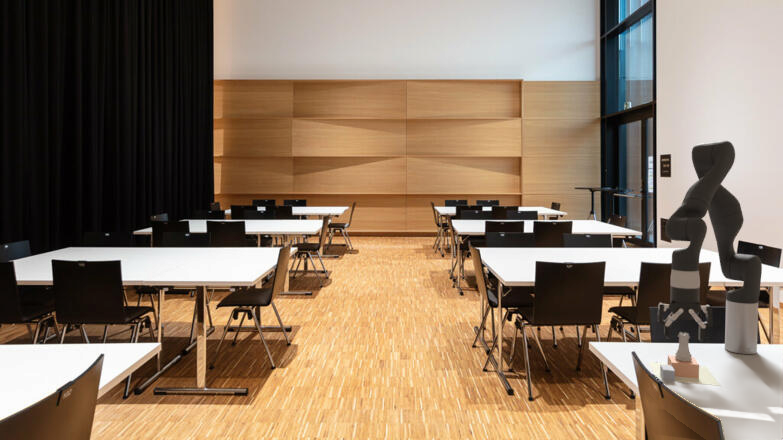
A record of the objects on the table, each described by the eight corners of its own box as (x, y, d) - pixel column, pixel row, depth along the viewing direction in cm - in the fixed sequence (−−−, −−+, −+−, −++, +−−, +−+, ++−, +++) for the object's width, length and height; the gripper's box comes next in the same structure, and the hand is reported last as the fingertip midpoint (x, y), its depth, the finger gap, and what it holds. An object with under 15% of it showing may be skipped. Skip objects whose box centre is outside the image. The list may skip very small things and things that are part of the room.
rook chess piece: (694, 362, 155) (695, 335, 154) (677, 361, 156) (678, 335, 155) (688, 357, 159) (689, 331, 159) (672, 357, 160) (673, 330, 160)
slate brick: (660, 374, 157) (660, 364, 157) (671, 375, 156) (671, 365, 156) (663, 380, 152) (663, 369, 152) (674, 381, 151) (675, 370, 151)
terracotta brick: (667, 368, 162) (667, 355, 162) (693, 370, 160) (693, 357, 160) (671, 375, 155) (672, 362, 155) (698, 378, 153) (699, 364, 153)
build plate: (649, 365, 168) (649, 362, 168) (706, 370, 163) (706, 367, 163) (657, 383, 153) (657, 379, 153) (720, 389, 148) (720, 385, 148)
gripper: (709, 283, 157) (708, 337, 158) (656, 281, 162) (655, 334, 163) (716, 288, 150) (714, 344, 151) (660, 286, 155) (659, 341, 156)
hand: (684, 339), depth 157 cm, fingers open, 8 cm apart
